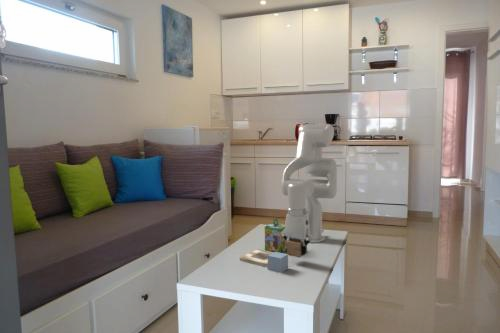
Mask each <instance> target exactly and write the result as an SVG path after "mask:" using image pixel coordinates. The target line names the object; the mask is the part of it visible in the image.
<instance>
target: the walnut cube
mask: <svg viewBox="0 0 500 333" xmlns="http://www.w3.org/2000/svg"><path fill="white" fill-rule="evenodd" d="M301 247H302V242H301V240H300V239H295V238H292V239H290V240H289V241H287V249H286V250H287V252H286V254H288V256H291V257H295V258H301V257H303V256H305V255H306V254H304V255H301Z"/></svg>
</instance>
